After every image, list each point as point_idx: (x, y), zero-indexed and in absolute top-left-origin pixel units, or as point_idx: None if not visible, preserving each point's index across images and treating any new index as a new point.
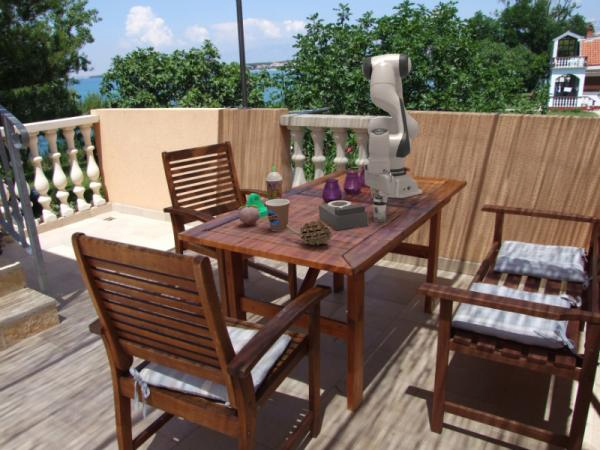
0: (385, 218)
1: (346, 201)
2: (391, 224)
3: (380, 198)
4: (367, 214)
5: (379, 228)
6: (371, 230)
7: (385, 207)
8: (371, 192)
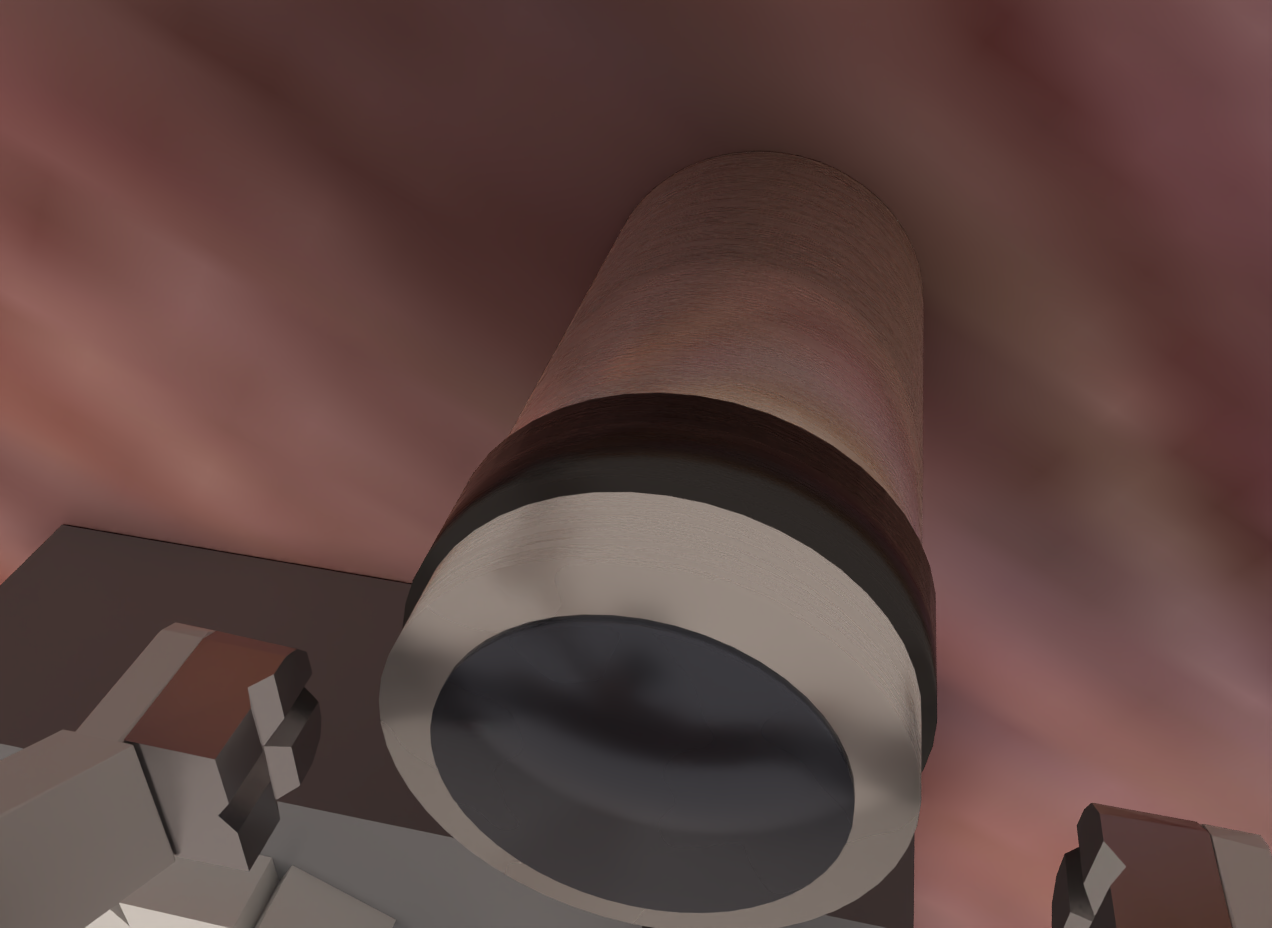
0: (904, 266)
1: (107, 924)
2: (1262, 279)
3: (743, 819)
4: (913, 875)
5: (1257, 632)
6: (1223, 778)
7: (897, 451)
8: (110, 882)
